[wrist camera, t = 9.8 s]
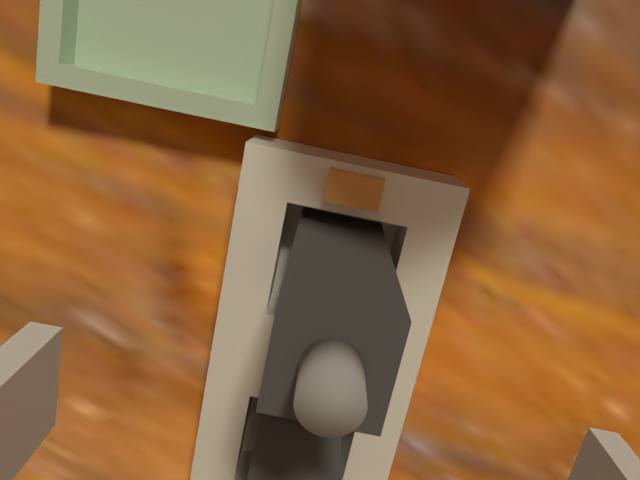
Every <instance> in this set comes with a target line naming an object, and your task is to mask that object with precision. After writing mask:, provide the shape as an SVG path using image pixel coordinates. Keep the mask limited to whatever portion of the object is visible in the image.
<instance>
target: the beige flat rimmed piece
mask: <svg viewBox="0 0 640 480" xmlns="http://www.w3.org/2000/svg"><path fill="white" fill-rule="evenodd" d="M469 192H470V188H469V187H467V186H466V185H465V184H464V183H462V182H461V181H460V180H459V179H457V178H456V177H455V176H452V175H448V174H443V173H438V172H433V171H428V170H424V169H419V168H414V167H409V166H405V165H400V164H395V163H390V162H386V161H381V160H376V159H371V158H367V157H362V156H357V155H352V154H348V153H343V152H338V151H333V150H328V149H324V148H319V147H314V146H309V145H305V144H300V143H295V142H290V141H286V140H281V139H276V138H271V137H267V136H262V135H256V136H254V137H253V138H251V139H249V140H248V141H246V144H245V150H244V156H243V162H242V168H241V174H240V180H239V186H238V192H237V198H236V204H235V210H234V216H233V222H232V228H231V234H230V240H229V246H228V252H227V258H226V264H225V270H224V276H223V283H222V289H221V295H220V301H219V307H218V313H217V319H216V325H215V331H214V337H213V343H212V349H211V355H210V361H209V367H208V373H207V379H206V385H205V391H204V397H203V403H202V409H201V415H200V421H199V427H198V434H197V440H196V446H195V452H194V458H193V464H192V470H191V476H190V480H247V476H248V472H249V468H250V463H251V459H252V454H253V450H254V446H255V441H256V437H257V433H258V428H259V424H260V419H261V415H262V413H257V412H256V408H257V403H258V397H259V392H260V387H261V382H262V377H263V372H264V367H265V362H266V357H267V352H268V347H269V342H270V337H271V331H272V326H273V321H274V316H275V311H276V306H277V301H278V296H279V292H280V289H281V285H282V281H283V278H284V274H285V271H286V267H287V263H288V260H289V256H290V253H291V249H292V245H293V242H294V238H295V235H296V231H297V227H298V224H299V220H300V216H301V213H302V209H303V207H307V208H312V209H316V210H321V211H326V212H331V213H336V214H341V215H345V216H350V217H355V218H360V219H365V220H370V221H374V222H379V223H381V224H382V227H383V231H384V234H385V237H386V240H387V244H388V247H389V250H390V254H391V257H392V260H393V263H394V267H395V270H396V273H397V276H398V280H399V283H400V286H401V289H402V293H403V296H404V299H405V302H406V306H407V309H408V312H409V315H410V319H411V322H412V323H411V327H410V330H409V334H408V338H407V341H406V345H405V349H404V352H403V356H402V360H401V363H400V367H399V370H398V374H397V378H396V381H395V385H394V389H393V392H392V396H391V400H390V403H389V407H388V411H387V414H386V418H385V422H384V425H383V429H382V433H381V436H380V437H379V436H374V435H369V434H364V433H359V432H354V431H353V432H351V433H349V434H347V435H344V436H341V480H388V476H389V473H390V469H391V466H392V462H393V459H394V455H395V452H396V448H397V445H398V441H399V438H400V434H401V431H402V427H403V423H404V420H405V416H406V413H407V409H408V406H409V402H410V399H411V395H412V392H413V388H414V385H415V381H416V378H417V374H418V371H419V367H420V364H421V360H422V357H423V353H424V350H425V346H426V343H427V339H428V336H429V332H430V329H431V325H432V322H433V318H434V315H435V311H436V308H437V304H438V301H439V297H440V294H441V290H442V287H443V283H444V280H445V276H446V273H447V269H448V266H449V262H450V259H451V255H452V251H453V248H454V244H455V241H456V237H457V234H458V230H459V227H460V223H461V220H462V216H463V213H464V209H465V206H466V202H467V199H468V195H469Z"/></svg>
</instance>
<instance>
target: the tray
mask: <svg viewBox="0 0 640 480" xmlns="http://www.w3.org/2000/svg"><path fill="white" fill-rule="evenodd" d="M301 3H302V0H40V12H39V29H38V46H37V63H36V80H35V82H38V83H43V84H48V85H52V86H57V87H62V88H67V89H71V90H76V91H81V92H86V93H90V94H95V95H100V96H105V97H109V98H114V99H119V100H124V101H128V102H133V103H138V104H143V105H147V106H152V107H157V108H162V109H166V110H171V111H176V112H181V113H186V114H190V115H195V116H200V117H205V118H209V119H214V120H219V121H224V122H228V123H233V124H238V125H243V126H247V127H252V128H257V129H262V130H266V131H271V132H275V131H276V130H278V129H279V125H280V119H281V114H282V108H283V103H284V97H285V92H286V86H287V81H288V75H289V69H290V64H291V58H292V53H293V47H294V42H295V36H296V31H297V25H298V20H299V14H300V9H301Z"/></svg>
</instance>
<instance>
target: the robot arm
mask: <svg viewBox="0 0 640 480" xmlns="http://www.w3.org/2000/svg"><path fill="white" fill-rule="evenodd" d="M61 341H62V327H56V326H51V325H46V324H40V323H35V322H29V323H28V324H27V325H26V326H25V327H23V328H22V329H21V330H20V331H19V332H17V333H16V334H15V335H14V336H12V337H11V338H10V339H9V340H8V341H6V342H5V343H4V344H3V345H2V346H0V480H12V479H13V478H14V477H15V476H16V474H17V473H18V472H19V470H20V469H21V468H22V467H23V465H24V464H25V463H26V462H27V460H28V459H29V458H30V456H31V455H32V454H33V453H34V451H35V450H36V449H37V447H38V446H39V445H40V444H41V442H42V441H43V440H44V438H45V437H46V436H47V435H48V433H49V432H50V431H51V430H52V428H53V427H54V426H55V420H56V407H57V394H58V381H59V368H60V354H61ZM568 480H640V459H639V458H638V457H637V456H636V454H635V453H634V452H633V451H632V449H631V448H630V447H629V446H628V444H627V443H626V442H625V441H624V440H623V438H622V437H621V436H620V435H619V433H615V432H610V431H605V430H599V429H594V428H589V429H588V431H587V434H586V436H585V439H584V441H583V444H582V446H581V448H580V451H579V453H578V456H577V458H576V461H575V463H574V466H573V468H572V471H571V473H570V476H569V478H568Z"/></svg>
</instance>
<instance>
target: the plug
mask: <svg viewBox="0 0 640 480" xmlns="http://www.w3.org/2000/svg"><path fill="white" fill-rule="evenodd" d="M411 323H412V322H411V319H410V315H409V312H408V309H407V306H406V302H405V299H404V296H403V293H402V289H401V286H400V283H399V280H398V276H397V273H396V270H395V267H394V263H393V260H392V257H391V254H390V250H389V247H388V244H387V240H386V237H385V234H384V231H383V227H382V224H381V223H379V222H374V221H370V220H365V219H360V218H355V217H350V216H345V215H341V214H336V213H331V212H326V211H321V210H316V209H312V208H307V207H303V209H302V213H301V216H300V220H299V224H298V227H297V231H296V235H295V238H294V242H293V245H292V249H291V253H290V256H289V260H288V263H287V267H286V271H285V274H284V278H283V281H282V285H281V289H280V292H279V296H278V301H277V306H276V311H275V316H274V321H273V326H272V331H271V337H270V342H269V347H268V352H267V357H266V362H265V367H264V372H263V377H262V382H261V387H260V392H259V397H258V403H257V408H256V412H257V413H262V414H267V415H272V416H278V417H283V418H288V419H293V420H298V421H299V422H300V424H301V425H302V426H303V427H304V428H305V429H306V430H308V431H309V432H311V433H313V434H315V435H318V436H321V437H327V438H334V437H341V436H344V435H347V434H349V433H351V432H353V431H354V432H359V433H364V434H369V435H374V436H379V437H380V436H381V433H382V429H383V425H384V422H385V418H386V414H387V411H388V407H389V403H390V400H391V396H392V392H393V389H394V385H395V381H396V378H397V374H398V370H399V367H400V363H401V360H402V356H403V352H404V349H405V345H406V341H407V338H408V334H409V330H410V327H411Z"/></svg>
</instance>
